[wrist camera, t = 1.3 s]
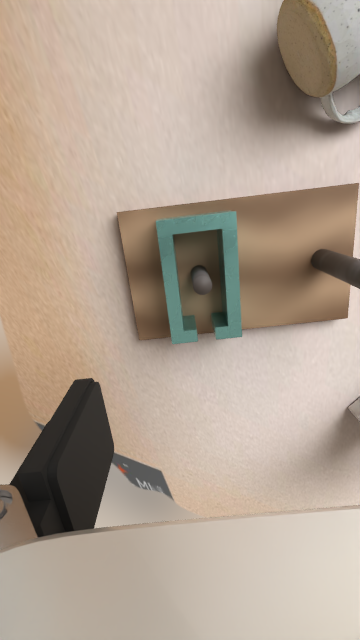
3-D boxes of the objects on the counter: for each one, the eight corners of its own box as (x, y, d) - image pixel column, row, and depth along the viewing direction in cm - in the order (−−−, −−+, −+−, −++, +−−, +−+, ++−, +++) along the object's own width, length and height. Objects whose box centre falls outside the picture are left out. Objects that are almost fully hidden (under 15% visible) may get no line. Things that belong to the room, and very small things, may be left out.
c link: (158, 218, 28) (155, 221, 25) (228, 210, 28) (236, 211, 24) (172, 327, 32) (172, 344, 28) (234, 321, 32) (242, 336, 28)
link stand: (119, 212, 30) (55, 219, 14) (350, 184, 29) (549, 159, 13) (140, 334, 34) (109, 441, 19) (340, 313, 33) (480, 406, 18)
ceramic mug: (259, 32, 25) (293, -36, 18) (351, -51, 23) (430, -164, 16) (320, 150, 28) (370, 133, 21) (405, 84, 26) (491, 41, 19)
